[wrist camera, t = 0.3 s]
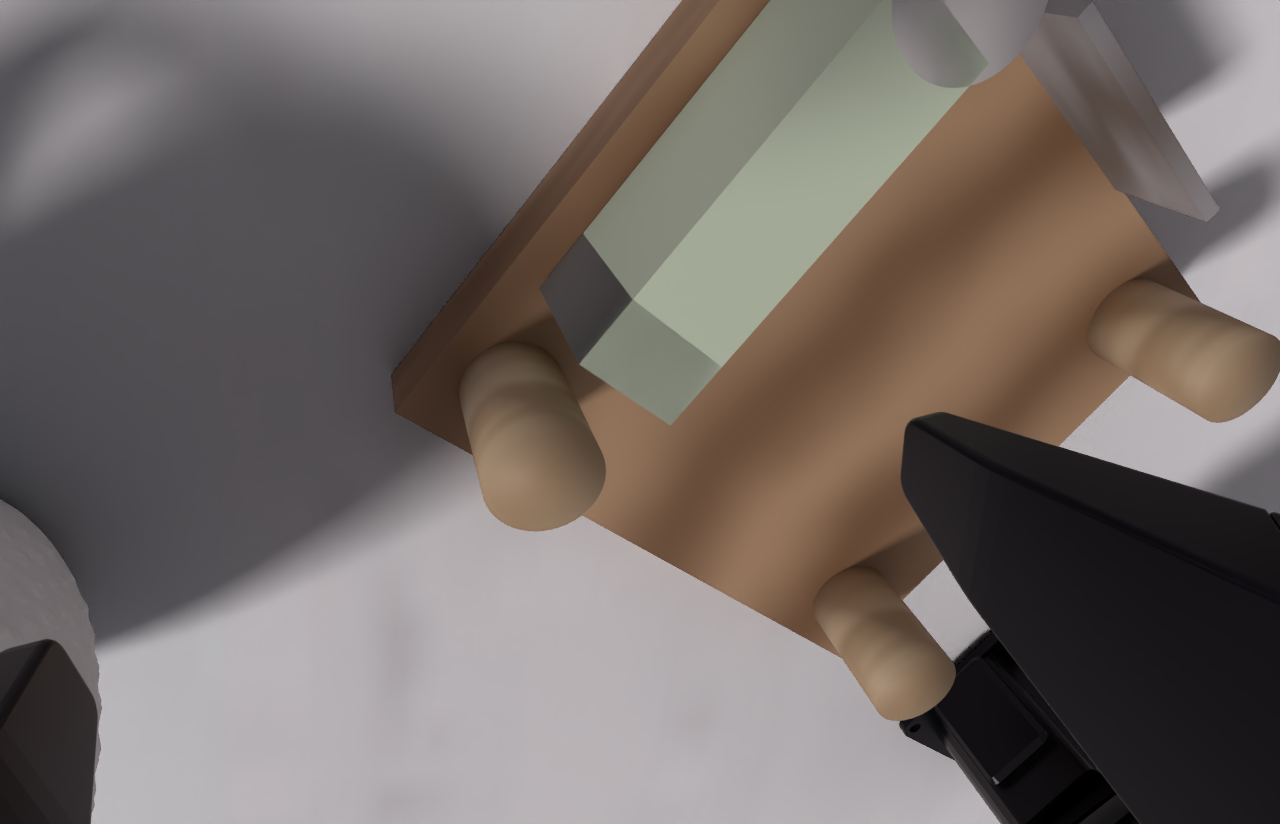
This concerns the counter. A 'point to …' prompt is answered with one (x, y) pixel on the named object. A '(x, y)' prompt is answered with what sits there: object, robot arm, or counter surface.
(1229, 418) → the stool seat
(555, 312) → the hinged leg
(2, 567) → the mug
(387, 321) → the counter surface
